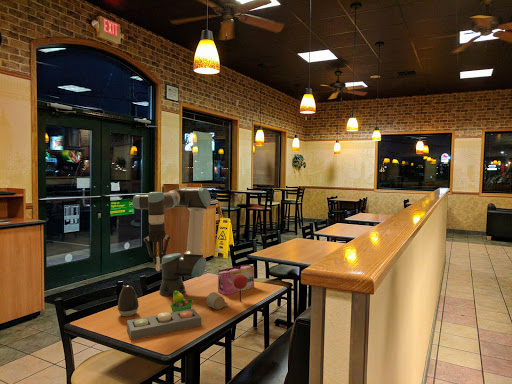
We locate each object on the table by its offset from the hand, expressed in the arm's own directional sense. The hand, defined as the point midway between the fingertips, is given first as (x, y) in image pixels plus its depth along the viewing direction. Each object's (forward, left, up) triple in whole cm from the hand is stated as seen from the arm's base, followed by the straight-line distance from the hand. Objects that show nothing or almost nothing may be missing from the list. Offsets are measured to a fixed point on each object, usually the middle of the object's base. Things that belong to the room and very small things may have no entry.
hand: (157, 270), depth 182 cm
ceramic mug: (-1, +32, -25) cm, 40 cm away
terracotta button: (+12, +11, -22) cm, 27 cm away
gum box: (-23, +52, -25) cm, 62 cm away
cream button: (+12, 0, -21) cm, 24 cm away
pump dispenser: (-13, -13, -25) cm, 31 cm away
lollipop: (-3, +46, -25) cm, 52 cm away
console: (+12, 0, -24) cm, 27 cm away
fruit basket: (-3, +12, -25) cm, 28 cm away
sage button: (+12, -11, -22) cm, 27 cm away
